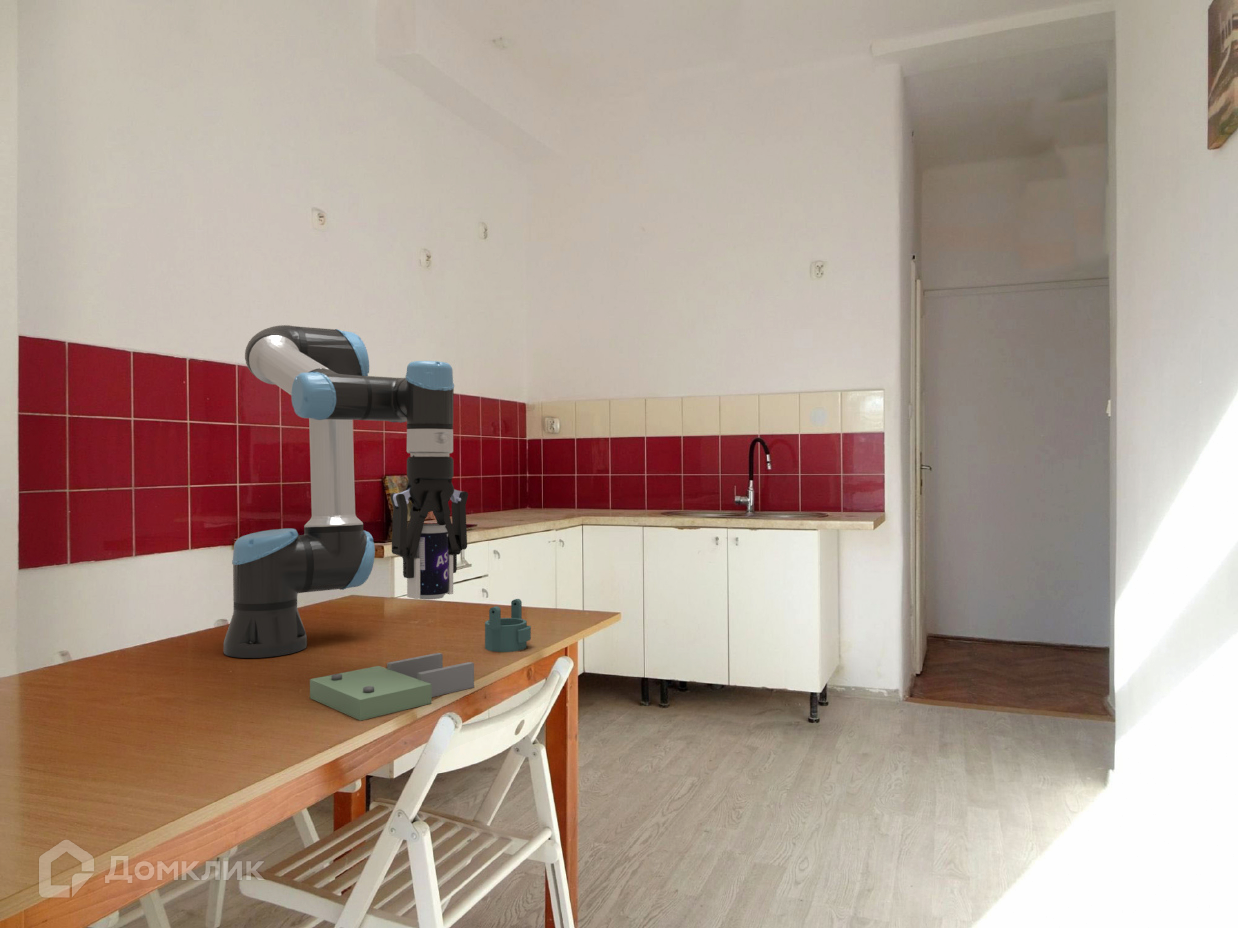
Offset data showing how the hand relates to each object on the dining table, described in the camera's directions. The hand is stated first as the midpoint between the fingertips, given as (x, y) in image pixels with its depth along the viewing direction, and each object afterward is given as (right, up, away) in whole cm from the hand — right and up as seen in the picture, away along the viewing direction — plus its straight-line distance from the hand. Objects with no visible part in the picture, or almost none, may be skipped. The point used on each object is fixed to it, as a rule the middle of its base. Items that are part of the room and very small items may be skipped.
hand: (430, 595), depth 140 cm
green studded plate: (-4, -15, -4) cm, 16 cm away
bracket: (+9, -15, +29) cm, 34 cm away
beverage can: (0, -1, 0) cm, 1 cm away
